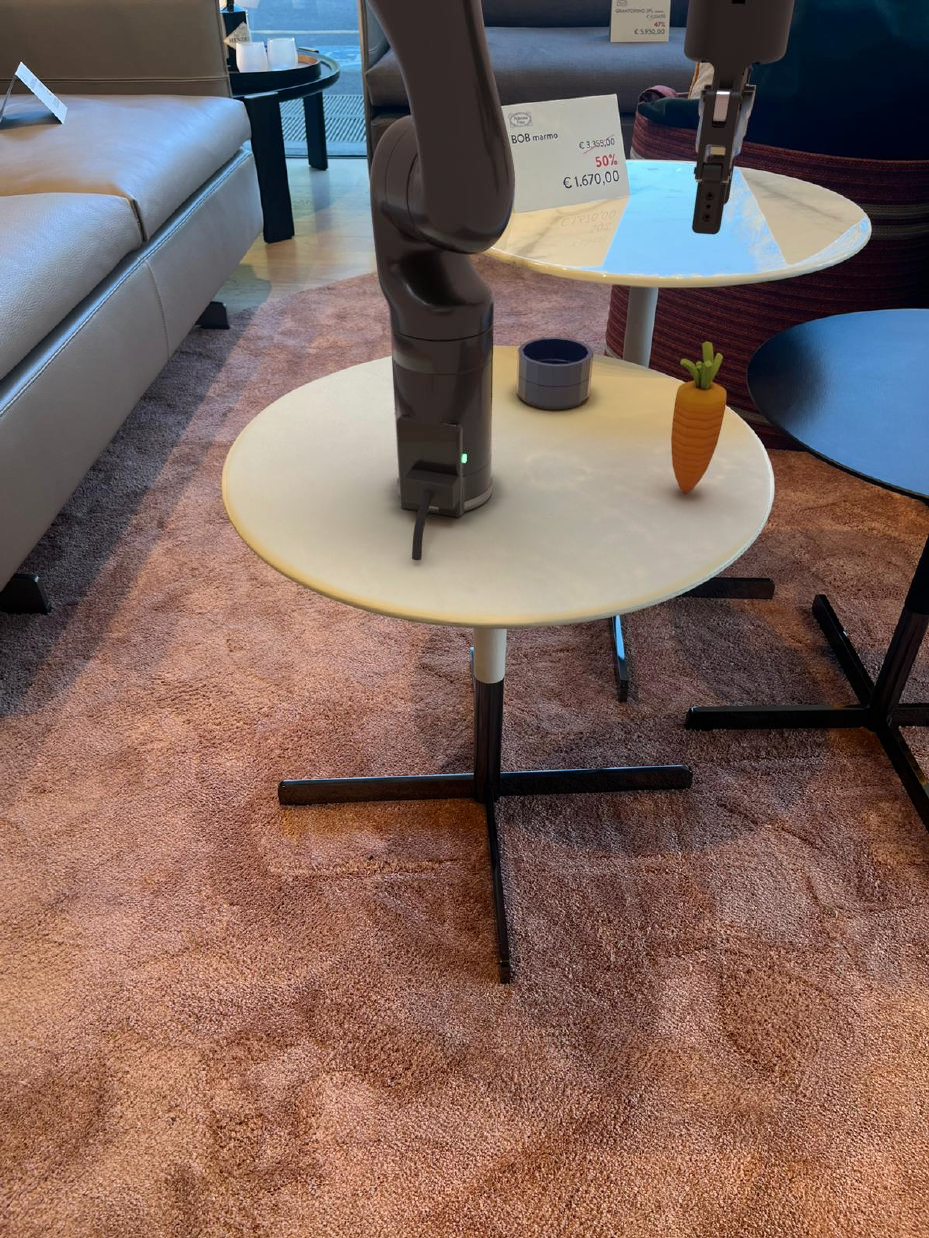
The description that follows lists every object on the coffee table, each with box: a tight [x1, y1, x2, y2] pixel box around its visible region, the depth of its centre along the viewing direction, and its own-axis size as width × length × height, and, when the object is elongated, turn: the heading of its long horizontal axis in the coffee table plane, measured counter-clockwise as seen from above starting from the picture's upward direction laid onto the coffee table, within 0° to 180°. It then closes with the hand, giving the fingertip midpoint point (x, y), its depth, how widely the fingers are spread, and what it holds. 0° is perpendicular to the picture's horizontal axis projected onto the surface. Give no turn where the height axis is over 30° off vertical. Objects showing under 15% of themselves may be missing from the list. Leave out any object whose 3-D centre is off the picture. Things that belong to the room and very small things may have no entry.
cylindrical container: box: [516, 336, 594, 411], centre depth 108 cm, size 9×9×6 cm
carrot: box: [670, 341, 727, 494], centre depth 88 cm, size 5×5×15 cm
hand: (710, 217), depth 77 cm, fingers open, 8 cm apart
